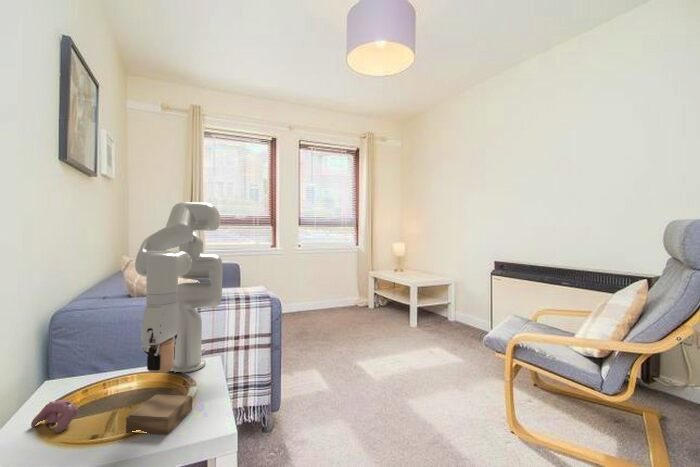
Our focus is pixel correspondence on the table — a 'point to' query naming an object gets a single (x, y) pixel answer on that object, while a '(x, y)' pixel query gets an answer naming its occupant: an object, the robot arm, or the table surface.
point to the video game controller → (57, 414)
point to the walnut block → (159, 414)
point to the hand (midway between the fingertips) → (161, 364)
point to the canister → (165, 356)
